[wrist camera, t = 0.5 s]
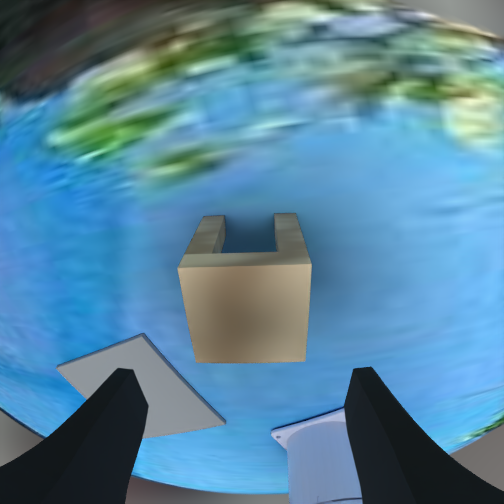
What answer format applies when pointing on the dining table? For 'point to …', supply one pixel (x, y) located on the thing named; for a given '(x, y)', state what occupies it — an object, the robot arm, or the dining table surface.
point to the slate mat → (146, 386)
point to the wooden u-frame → (247, 296)
